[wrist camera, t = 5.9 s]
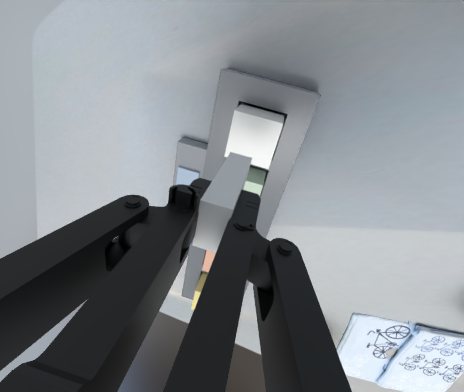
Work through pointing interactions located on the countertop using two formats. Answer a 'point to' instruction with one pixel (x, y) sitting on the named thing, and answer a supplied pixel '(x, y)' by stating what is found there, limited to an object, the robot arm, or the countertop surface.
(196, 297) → the key mustard
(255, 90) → the keypad
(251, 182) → the key sage
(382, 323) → the folded patterned cloth
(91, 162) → the countertop surface
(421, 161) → the countertop surface
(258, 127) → the key white
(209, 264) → the key terracotta
